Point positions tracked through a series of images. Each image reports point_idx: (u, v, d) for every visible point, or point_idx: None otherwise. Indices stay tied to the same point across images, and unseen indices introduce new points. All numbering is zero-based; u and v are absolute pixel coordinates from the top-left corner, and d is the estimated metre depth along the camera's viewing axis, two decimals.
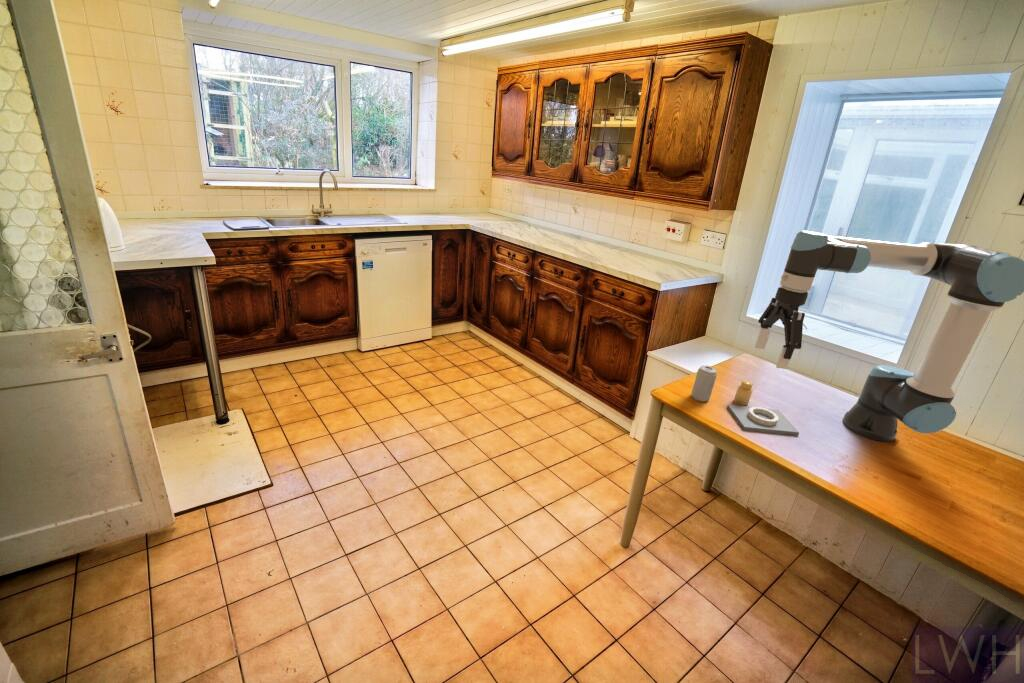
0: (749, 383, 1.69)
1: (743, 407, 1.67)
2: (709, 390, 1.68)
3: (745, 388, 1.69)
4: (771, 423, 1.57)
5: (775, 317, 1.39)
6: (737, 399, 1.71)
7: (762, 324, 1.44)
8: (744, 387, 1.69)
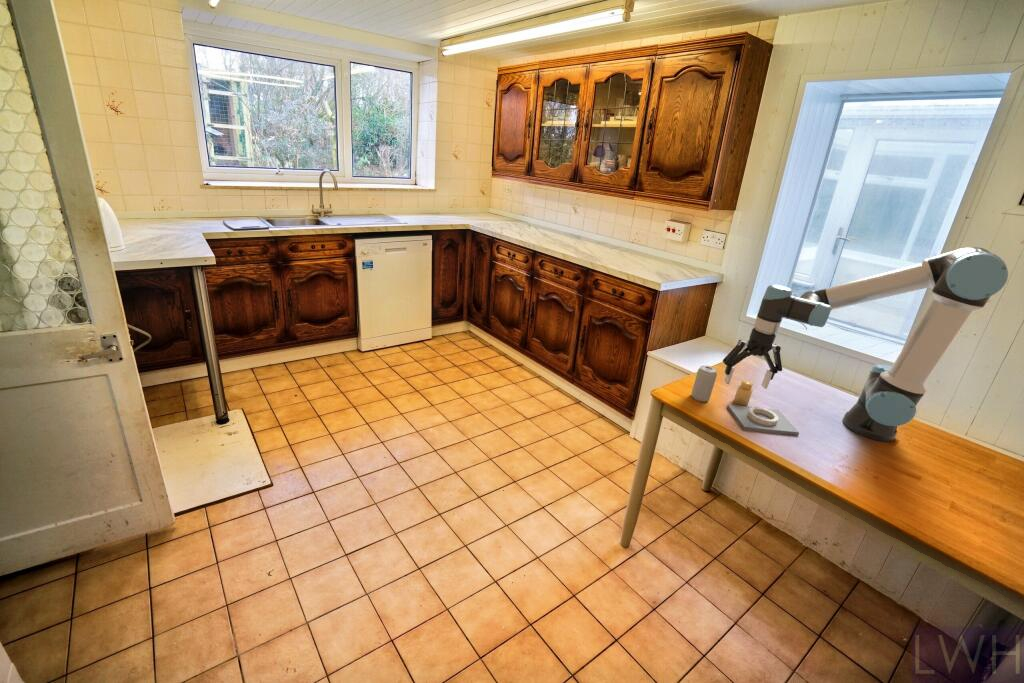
0: (749, 383, 1.69)
1: (743, 407, 1.67)
2: (709, 390, 1.68)
3: (745, 388, 1.69)
4: (771, 423, 1.57)
5: (764, 357, 1.66)
6: (737, 399, 1.71)
7: None
8: (744, 387, 1.69)
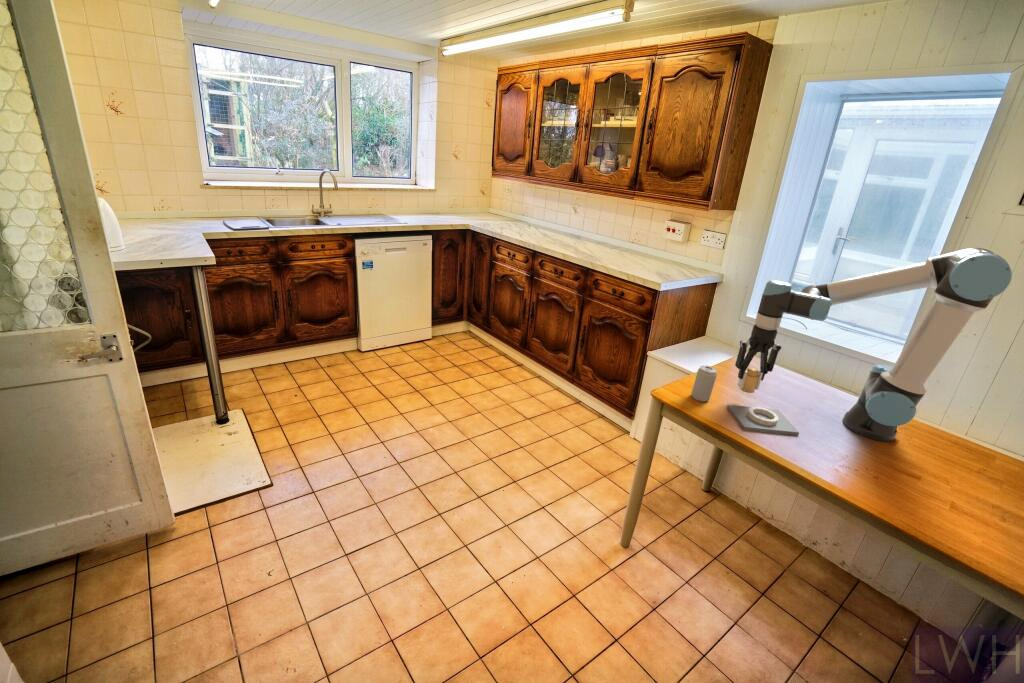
0: (755, 370, 1.67)
1: (743, 407, 1.67)
2: (709, 390, 1.68)
3: (751, 375, 1.66)
4: (771, 423, 1.57)
5: (761, 354, 1.65)
6: (743, 387, 1.69)
7: None
8: (750, 374, 1.66)
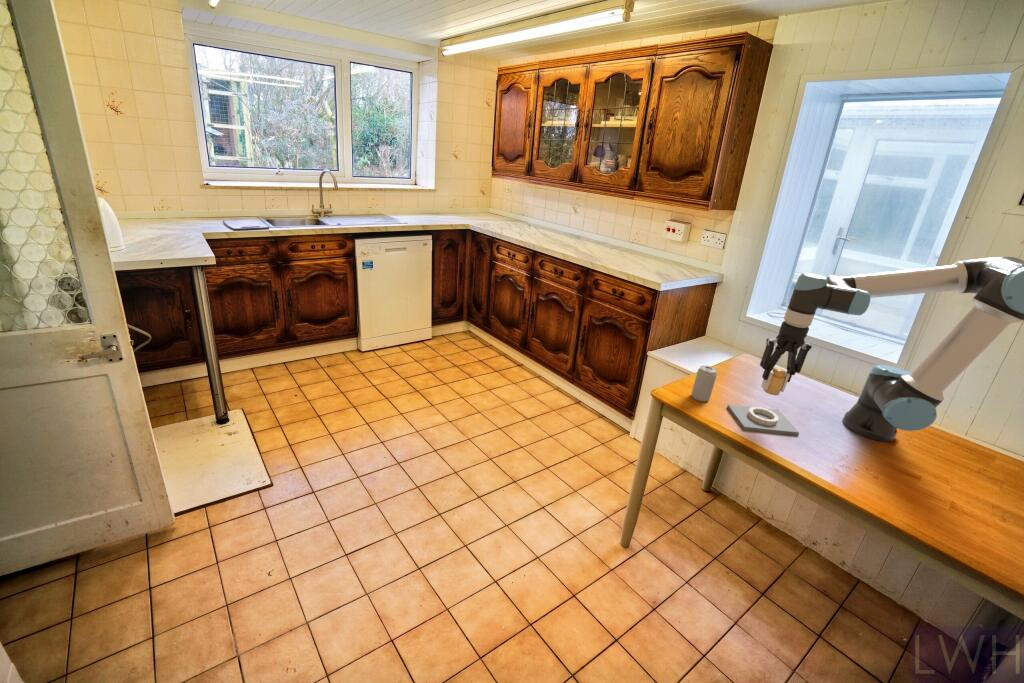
0: (781, 370, 1.54)
1: (743, 407, 1.67)
2: (709, 390, 1.68)
3: (777, 376, 1.53)
4: (771, 423, 1.57)
5: (789, 354, 1.52)
6: None
7: None
8: (776, 374, 1.53)
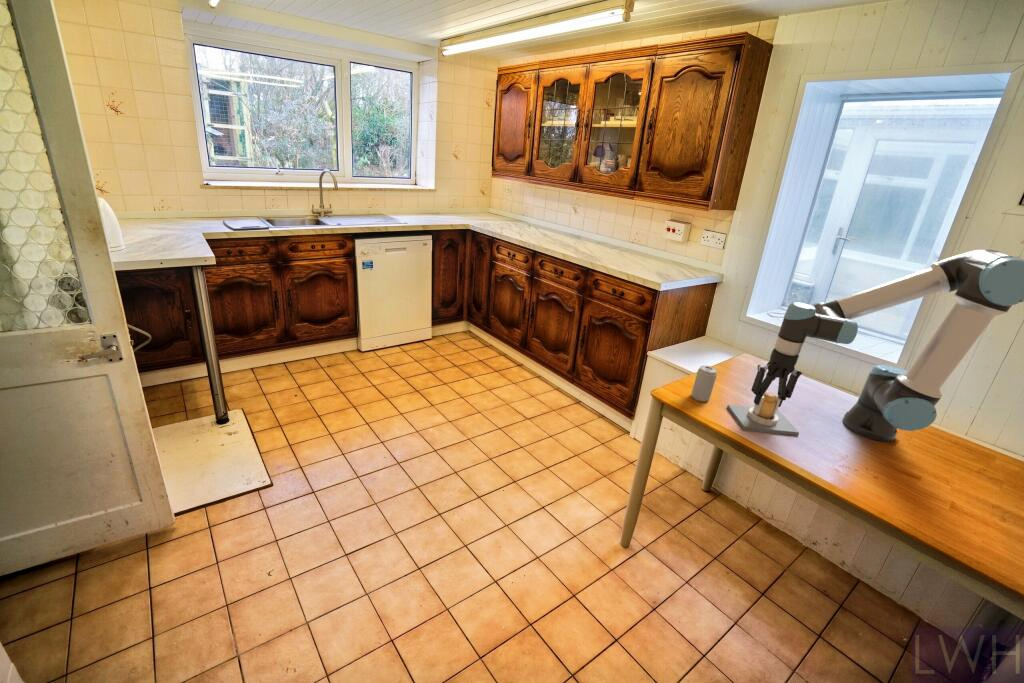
0: (772, 395, 1.57)
1: (743, 407, 1.67)
2: (709, 390, 1.68)
3: (768, 401, 1.57)
4: (771, 423, 1.57)
5: (780, 379, 1.56)
6: None
7: None
8: (767, 400, 1.57)
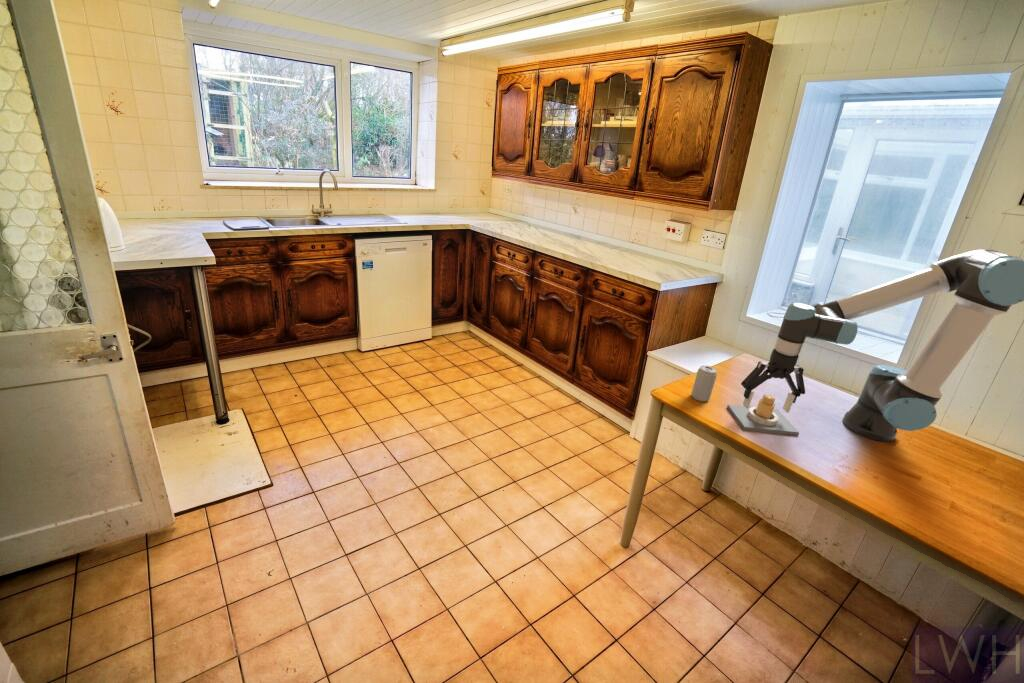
0: (771, 398, 1.58)
1: (743, 407, 1.67)
2: (709, 390, 1.68)
3: (767, 403, 1.57)
4: (771, 423, 1.57)
5: (786, 379, 1.55)
6: (757, 415, 1.60)
7: None
8: (766, 402, 1.57)
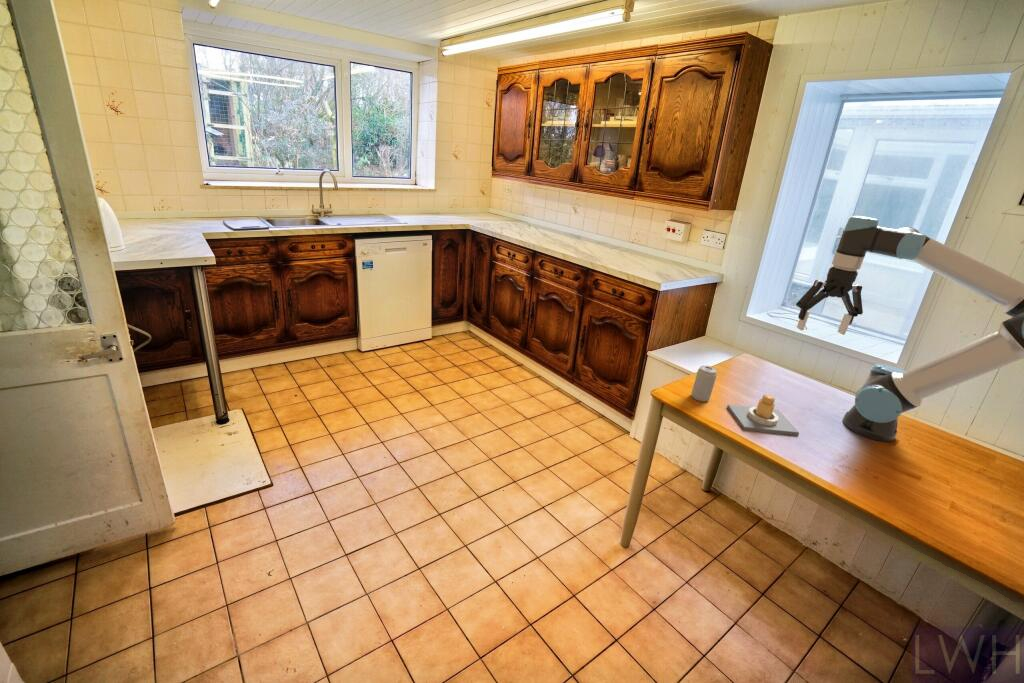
0: (771, 397, 1.58)
1: (743, 407, 1.67)
2: (709, 390, 1.68)
3: (767, 403, 1.57)
4: (771, 423, 1.57)
5: (843, 298, 1.51)
6: (757, 415, 1.60)
7: None
8: (766, 402, 1.57)
